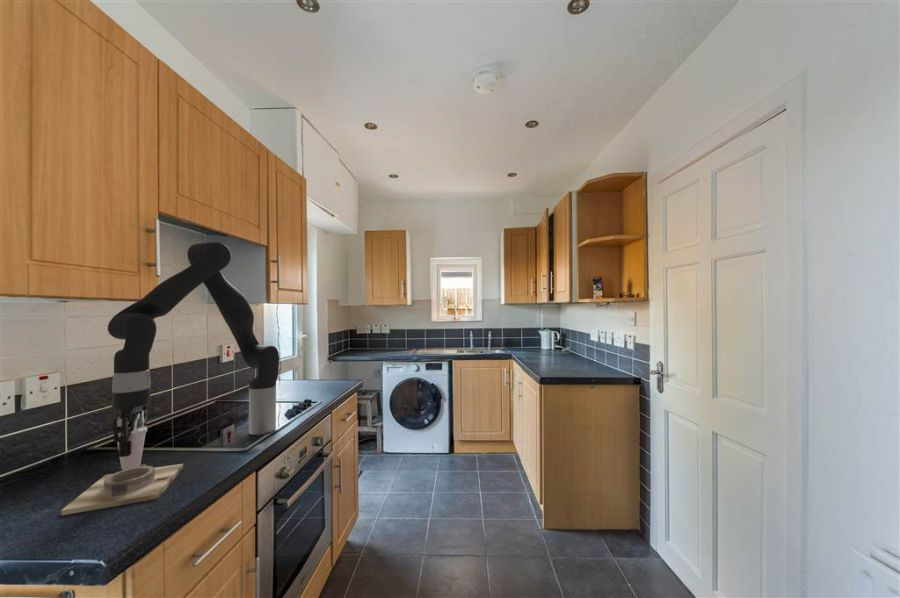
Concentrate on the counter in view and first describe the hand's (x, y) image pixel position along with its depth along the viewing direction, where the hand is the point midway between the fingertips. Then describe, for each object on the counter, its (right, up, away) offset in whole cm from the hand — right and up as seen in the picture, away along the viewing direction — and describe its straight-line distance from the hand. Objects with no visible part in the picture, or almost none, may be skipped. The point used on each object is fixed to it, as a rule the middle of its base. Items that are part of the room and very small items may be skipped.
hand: (131, 450), depth 91 cm
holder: (0, -10, 0) cm, 10 cm away
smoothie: (0, -4, 0) cm, 4 cm away
